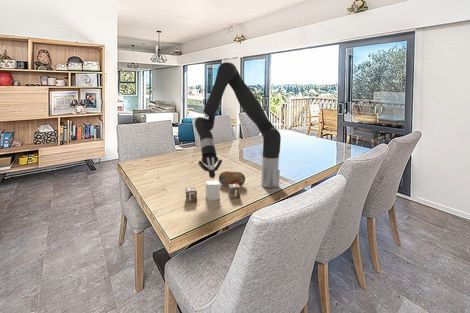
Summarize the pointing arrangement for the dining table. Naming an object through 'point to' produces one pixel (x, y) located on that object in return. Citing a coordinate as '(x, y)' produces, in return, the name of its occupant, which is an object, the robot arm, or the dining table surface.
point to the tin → (231, 178)
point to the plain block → (212, 190)
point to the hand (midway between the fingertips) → (212, 177)
